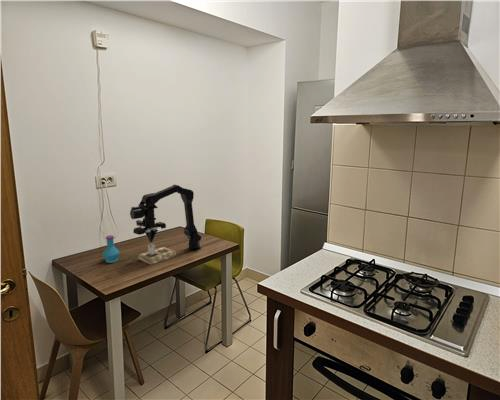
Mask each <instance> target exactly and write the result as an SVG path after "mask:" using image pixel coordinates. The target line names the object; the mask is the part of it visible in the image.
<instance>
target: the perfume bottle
mask: <svg viewBox="0 0 500 400" xmlns="http://www.w3.org/2000/svg"><path fill="white" fill-rule="evenodd" d="M114 237H115V236H114V235H111V234H110V235H107V236H105V239H106V248H105V249H104V250H103V253H102V256H103V257H102V258H103V259H104V261H105V263H115V262H117V261H118V260H119V256H120V250H119V249H117V247H116V246H115V244H114Z"/></svg>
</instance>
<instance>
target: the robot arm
mask: <svg viewBox="0 0 500 400" xmlns="http://www.w3.org/2000/svg"><path fill="white" fill-rule="evenodd" d="M175 193H177V194H180V198H181V200H182V202H183V206H184V214H185V216H184V217H185V223H186V225H185V227H183V234H184V235H185V237H186V238H187V239H188V247H187V249H188V250H190V251H193V252H194V251H197V250H199V249H202V247H201V246H200V241H201V240H202V236H201V235H200V234H198V233H199V232H198V229H197V227H196V226H195V219H194V210H193V201H194V198H195V197H194V195H195V194H194V191H193V190H192V189H189V188H184V187H182V186H180V185H178V184H172V185H171V186H168V187H166V188H164V189H162V190H159V191H156V192H153V193H152V192H151V193H146V194H144V195H142V198H141V200H140V202H139V204H138V205H137V206H131V208H130V211H129V216H130V218H131V220H136V221H135V223H136V226H137V227H134V228H133V234H135V235H139V236H140V235H144V234H145V235H146V236H147V239H148V241H149V242H150V243H152V242H153V241H154V239H155V236H156V234H157V233H158V232H159V229H158V228H161V229H166V228H167V224H166V223H165V222H162V221H158V222H156V220H157V218H156V217H155V216H156V215H155V209H158V206H157V205H156V203H158V202H159V201H160V200H162V199H164V198H166V197H168V196H171V195H173V194H175ZM141 219H142V220H141Z"/></svg>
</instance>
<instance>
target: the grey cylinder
mask: <svg viewBox="0 0 500 400" xmlns="http://www.w3.org/2000/svg"><path fill="white" fill-rule="evenodd" d="M155 249H156V245H155V244H154V243H150V244H148V245H147V252H148V256H149V257H153V256H155Z"/></svg>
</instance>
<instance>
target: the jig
mask: <svg viewBox="0 0 500 400" xmlns="http://www.w3.org/2000/svg"><path fill="white" fill-rule="evenodd" d="M176 255H177V254H176V251H175V250H173V249H171V248H168V247H165V246H162V247H158V248H155V256H153V257H149V256H148V251H146V252H143V253H139V254H138V260H139V261H141V262H144V263H147V264H149V265H154V264H156V263H159V262H162V261H166V260H168V259H171V258H174V257H176Z"/></svg>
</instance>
